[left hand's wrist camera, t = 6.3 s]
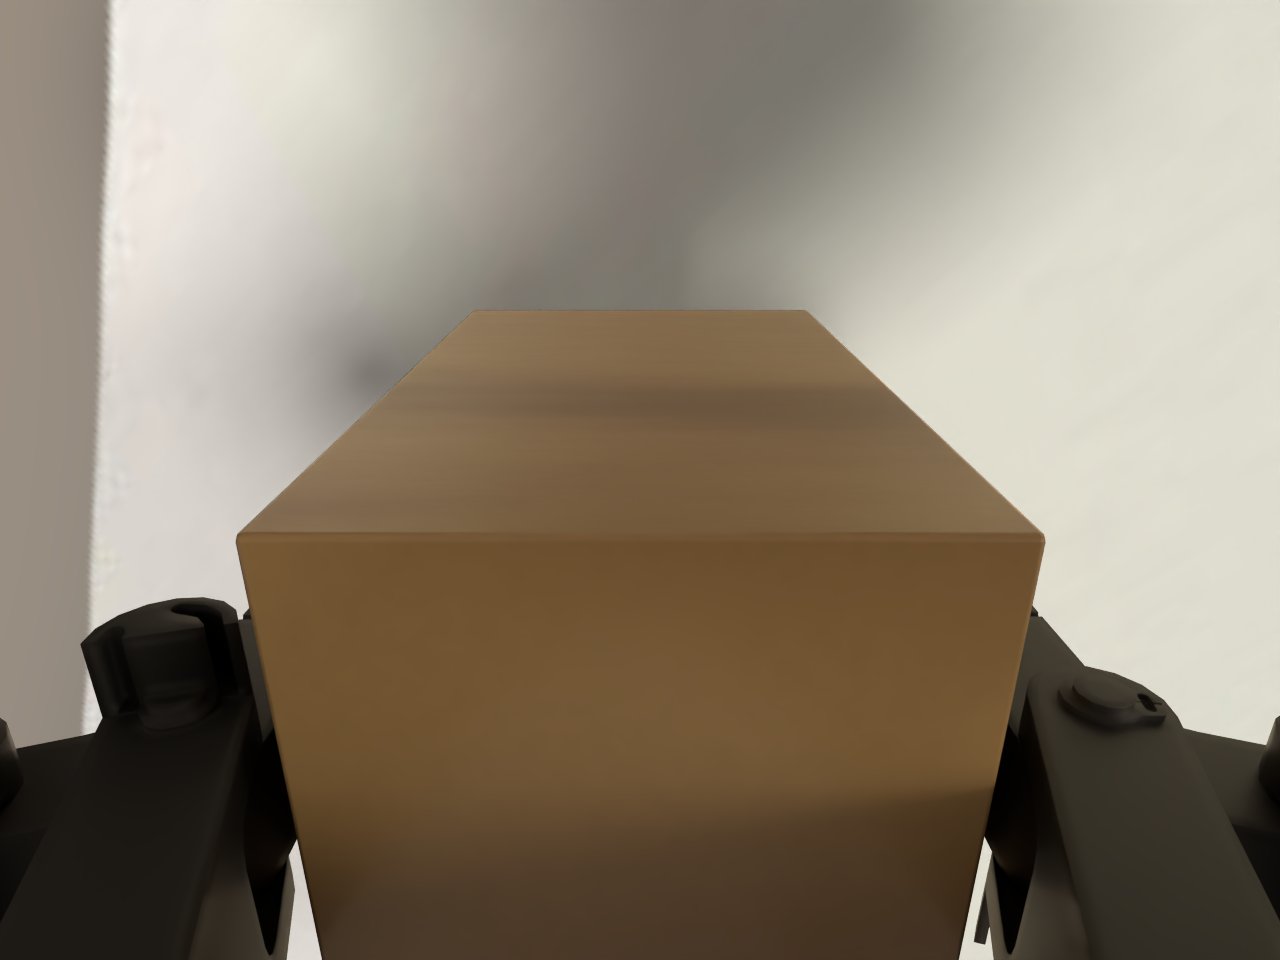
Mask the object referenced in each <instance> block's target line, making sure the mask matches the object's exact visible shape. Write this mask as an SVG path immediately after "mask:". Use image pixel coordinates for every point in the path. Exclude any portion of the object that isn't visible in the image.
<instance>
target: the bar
mask: <svg viewBox="0 0 1280 960" xmlns="http://www.w3.org/2000/svg"><path fill="white" fill-rule="evenodd" d="M236 546H237V551H238V555H239V560H240V565H241V570H242V575H243V580H244V584H245V589H246V594H247V599H248V604H249V609H250V613H251V618H252V623H253V628H254V633H255V638H256V642H257V647H258V652H259V657H260V662H261V667H262V671H263V676H264V681H265V686H266V691H267V696H268V700H269V705H270V710H271V715H272V720H273V725H274V729H275V734H276V739H277V744H278V749H279V754H280V758H281V763H282V768H283V773H284V778H285V783H286V787H287V792H288V797H289V802H290V807H291V812H292V816H293V821H294V826H295V831H296V836H297V841H298V845H299V850H300V855H301V860H302V865H303V870H304V875H305V879H306V884H307V889H308V894H309V899H310V904H311V908H312V913H313V918H314V923H315V928H316V933H317V937H318V942H319V947H320V952H321V957H322V960H959V956H960V951H961V946H962V941H963V937H964V932H965V927H966V922H967V917H968V912H969V908H970V903H971V898H972V893H973V888H974V884H975V879H976V874H977V869H978V864H979V860H980V855H981V850H982V845H983V840H984V835H985V831H986V826H987V821H988V816H989V811H990V807H991V802H992V797H993V792H994V787H995V782H996V778H997V773H998V768H999V763H1000V758H1001V754H1002V749H1003V744H1004V739H1005V734H1006V729H1007V725H1008V720H1009V715H1010V710H1011V705H1012V701H1013V696H1014V691H1015V686H1016V681H1017V676H1018V672H1019V667H1020V662H1021V657H1022V652H1023V648H1024V643H1025V638H1026V633H1027V628H1028V624H1029V619H1030V614H1031V609H1032V604H1033V599H1034V595H1035V590H1036V585H1037V580H1038V575H1039V571H1040V566H1041V561H1042V556H1043V551H1044V546H1045V537H1044V534H1043V533H1042V532H1041V531H1040V530H1039V529H1038V528H1037V527H1036V526H1034V525H1033V524H1032V523H1031V522H1030V521H1029V520H1028V519H1027V518H1026V517H1025V516H1024V515H1023V514H1022V513H1021V512H1020V511H1019V510H1017V509H1016V508H1015V507H1014V506H1013V505H1012V504H1011V503H1010V502H1009V501H1008V500H1007V499H1006V498H1005V497H1004V496H1003V495H1002V494H1001V493H999V492H998V491H997V490H996V489H995V488H994V487H993V486H992V485H991V484H990V483H989V482H988V481H987V480H986V479H985V478H984V477H982V476H981V475H980V474H979V473H978V472H977V471H976V470H975V469H974V468H973V467H972V466H971V465H970V464H969V463H968V462H967V461H966V460H964V459H963V458H962V457H961V456H960V455H959V454H958V453H957V452H956V451H955V450H954V449H953V448H952V447H951V446H950V445H949V444H947V443H946V442H945V441H944V440H943V439H942V438H941V437H940V436H939V435H938V434H937V433H936V432H935V431H934V430H933V429H932V428H931V427H929V426H928V425H927V424H926V423H925V422H924V421H923V420H922V419H921V418H920V417H919V416H918V415H917V414H916V413H915V412H914V411H912V410H911V409H910V408H909V407H908V406H907V405H906V404H905V403H904V402H903V401H902V400H901V399H900V398H899V397H898V396H897V395H896V394H894V393H893V392H892V391H891V390H890V389H889V388H888V387H887V386H886V385H885V384H884V383H883V382H882V381H881V380H880V379H879V378H877V377H876V376H875V375H874V374H873V373H872V372H871V371H870V370H869V369H868V368H867V367H866V366H865V365H864V364H863V363H862V362H861V361H859V360H858V359H857V358H856V357H855V356H854V355H853V354H852V353H851V352H850V351H849V350H848V349H847V348H846V347H845V346H844V345H842V344H841V343H840V342H839V341H838V340H837V339H836V338H835V337H834V336H833V335H832V334H831V333H830V332H829V331H828V330H827V329H826V328H824V327H823V326H822V325H821V324H820V323H819V322H818V321H817V320H816V319H815V318H814V317H813V316H812V315H811V314H810V313H809V312H807V311H805V310H475V311H473V312H472V313H471V314H470V315H469V316H468V317H467V318H466V319H465V320H463V321H462V322H461V323H460V324H459V325H458V326H457V327H456V328H455V329H454V330H453V331H452V332H451V333H450V334H449V335H448V336H447V337H445V338H444V339H443V340H442V341H441V342H440V343H439V344H438V345H437V346H436V347H435V348H434V349H433V350H432V351H431V352H430V353H429V354H427V355H426V356H425V357H424V358H423V359H422V360H421V361H420V362H419V363H418V364H417V365H416V366H415V367H414V368H413V369H412V370H411V371H410V372H408V373H407V374H406V375H405V376H404V377H403V378H402V379H401V380H400V381H399V382H398V383H397V384H396V385H395V386H394V387H393V388H392V389H390V390H389V391H388V392H387V393H386V394H385V395H384V396H383V397H382V398H381V399H380V400H379V401H378V402H377V403H376V404H375V405H374V406H372V407H371V408H370V409H369V410H368V411H367V412H366V413H365V414H364V415H363V416H362V417H361V418H360V419H359V420H358V421H357V422H356V423H354V424H353V425H352V426H351V427H350V428H349V429H348V430H347V431H346V432H345V433H344V434H343V435H342V436H341V437H340V438H339V439H338V440H336V441H335V442H334V443H333V444H332V445H331V446H330V447H329V448H328V449H327V450H326V451H325V452H324V453H323V454H322V455H321V456H320V457H319V458H317V459H316V460H315V461H314V462H313V463H312V464H311V465H310V466H309V467H308V468H307V469H306V470H305V471H304V472H303V473H302V474H301V475H299V476H298V477H297V478H296V479H295V480H294V481H293V482H292V483H291V484H290V485H289V486H288V487H287V488H286V489H285V490H284V491H283V492H281V493H280V494H279V495H278V496H277V497H276V498H275V499H274V500H273V501H272V502H271V503H270V504H269V505H268V506H267V507H266V508H265V509H263V510H262V511H261V512H260V513H259V514H258V515H257V516H256V517H255V518H254V519H253V520H252V521H251V522H250V523H249V524H248V525H247V526H246V527H244V528H243V529H242V530H241V531H240V532H239V533H238V534H237V537H236Z"/></svg>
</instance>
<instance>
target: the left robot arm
mask: <svg viewBox="0 0 1280 960" xmlns="http://www.w3.org/2000/svg"><path fill="white" fill-rule="evenodd" d="M81 648H82V651H83V655H84V658H85V661H86V664H87V668H88V671H89V674H90V678H91V681H92V684H93V688H94V691H95V694H96V698H97V701H98V704H99V707H100V711H101V714H102V717H103V718H102V720H101V722H100V724H99V726H98V728H97V730H96V732H95V733H91V734H87V735H83V736H78V737H73V738H68V739H63V740H58V741H53V742H48V743H43V744H38V745H32V746H27V747H22V748H17V749H16V748H15V745H14V742H13V740H12V737H11V734H10V731H9V728H8V725H7V723H6V722H5V721H4V720H2V719H1V718H0V960H286V959H287V951H288V943H289V934H290V926H291V918H292V910H293V901H294V893H295V887H294V881H293V874H292V869H291V864H290V860H289V854H290V852H291V850H292V848H293V846H294V844H295V842H296V840H297V836H296V831H295V826H294V821H293V816H292V812H291V807H290V802H289V797H288V792H287V787H286V783H285V778H284V773H283V768H282V763H281V758H280V754H279V749H278V744H277V739H276V734H275V729H274V725H273V720H272V715H271V710H270V705H269V700H268V696H267V691H266V686H265V681H264V676H263V671H262V667H261V662H260V657H259V652H258V647H257V642H256V638H255V633H254V628H253V623H252V618H251V613H250V609H248V610H247V611H246V612H245V614H244V615H243V620H239V621H238V617H237V612H236V610H235V609H234V608H233V607H231V606H230V605H228V604H227V603H226V602H224V601H220V600H215V599H209V598H204V597H200V598H177V599H172V600H167V601H162V602H158V603H153V604H148V605H145V606H142V607H140V608H137V609H134V610H131V611H129V612H126V613H123V614H121V615H118V616H117V617H115V618H113V619H111V620H110V621H108V622H106V623H104V624H103V625H101V626H99V627H98V628H96V629H95V630H94V631H93V632H92V633H91V634H90V635H89V636H88V637H87V638H86V639H85V640H84V641H83V642H82V643H81ZM984 836H985V838H986V840H987V842H988V844H989V846H990V848H991V850H992V855H991V860H990V864H989V869H988V874H987V878H986V883H985V888H984V892H983V897H982V902H981V906H980V911H979V916H978V920H977V925H976V932H975V938H974V942H976V943H981V944H985V943H986V938H987V934H988V929H989V927H990V932H991V941H992V949H993V957H994V960H1280V716H1279V717H1277V718H1276V719H1275V722H1274V725H1273V728H1272V730H1271V733H1270V736H1269V739H1268V742H1267V744H1266V745H1262V744H1257V743H1252V742H1246V741H1241V740H1236V739H1231V738H1226V737H1221V736H1216V735H1211V734H1206V733H1201V732H1196V731H1192V730H1188V729H1184V728H1183V727H1182V725H1181V723H1180V721H1179V719H1178V717H1177V715H1176V714H1175V713H1174V712H1173V711H1172V709H1171V708H1170V707H1169V706H1168V704H1167V703H1166V702H1165V701H1164V700H1163V699H1162V698H1160V697H1159V696H1157V695H1156V694H1154V693H1153V692H1151V691H1150V690H1149V689H1147V688H1146V687H1144V686H1143V685H1141V684H1139V683H1136V682H1134V681H1132V680H1129V679H1127V678H1125V677H1122V676H1120V675H1118V674H1115V673H1112V672H1108V671H1103V670H1099V669H1095V668H1091V667H1087V666H1084V665H1083V663H1082V662H1081V661H1080V660H1079V659H1078V658H1077V657H1076V655H1075V654H1074V653H1073V652H1072V651H1071V650H1070V648H1069V647H1068V646H1067V645H1066V644H1065V643H1064V642H1063V640H1062V639H1061V638H1060V637H1059V636H1058V635H1057V633H1056V632H1055V631H1054V630H1053V629H1052V628H1051V627H1050V625H1049V624H1048V623H1047V622H1046V621H1045V620H1044V618H1043V617H1038V612H1037V610H1036V609H1035V608H1034V607H1033V606H1032V609H1031V614H1030V619H1029V624H1028V628H1027V633H1026V638H1025V643H1024V648H1023V652H1022V657H1021V662H1020V667H1019V672H1018V676H1017V681H1016V686H1015V691H1014V696H1013V701H1012V705H1011V710H1010V715H1009V720H1008V725H1007V729H1006V734H1005V739H1004V744H1003V749H1002V754H1001V758H1000V763H999V768H998V773H997V778H996V782H995V787H994V792H993V797H992V802H991V807H990V811H989V816H988V821H987V826H986V831H985V835H984Z"/></svg>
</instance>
